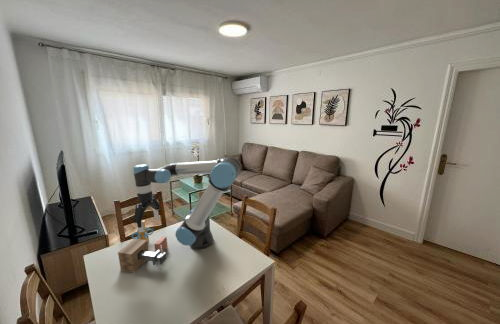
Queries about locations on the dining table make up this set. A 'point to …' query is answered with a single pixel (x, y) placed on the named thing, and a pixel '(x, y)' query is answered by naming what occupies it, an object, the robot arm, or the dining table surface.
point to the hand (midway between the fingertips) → (149, 225)
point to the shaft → (152, 256)
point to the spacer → (160, 244)
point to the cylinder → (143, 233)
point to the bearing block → (132, 255)
